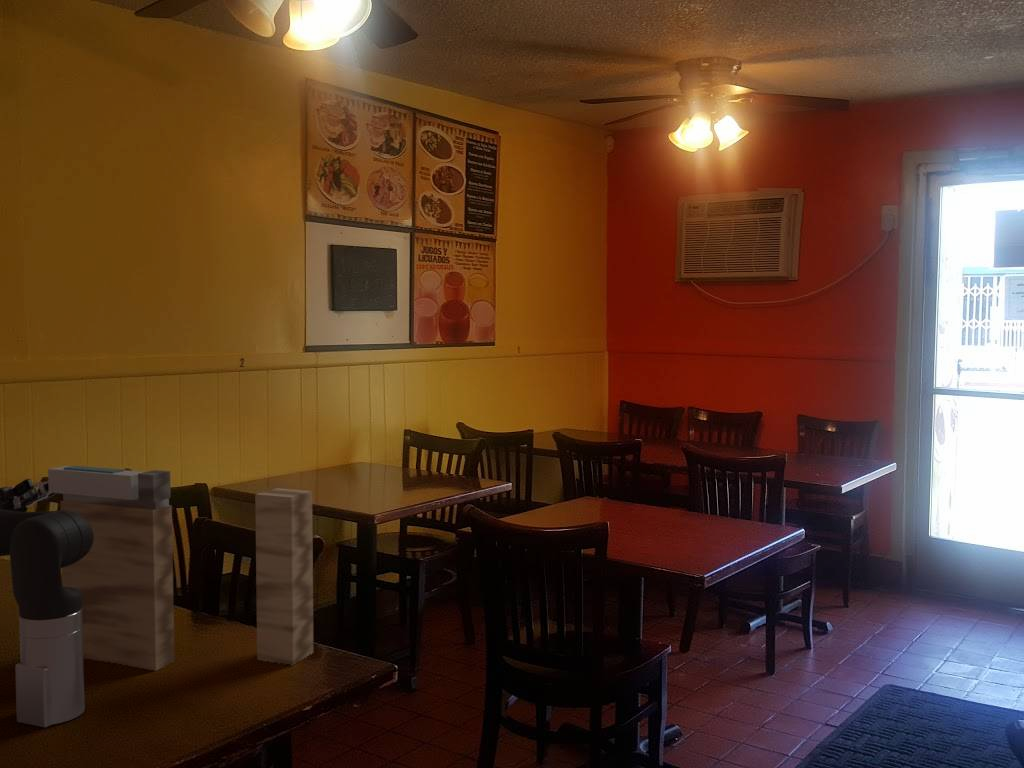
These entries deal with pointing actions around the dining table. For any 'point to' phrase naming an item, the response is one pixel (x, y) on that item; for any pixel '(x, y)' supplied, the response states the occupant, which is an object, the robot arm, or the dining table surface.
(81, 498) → the rail post
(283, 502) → the stand
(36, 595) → the robot arm
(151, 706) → the dining table surface
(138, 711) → the dining table surface
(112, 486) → the block
